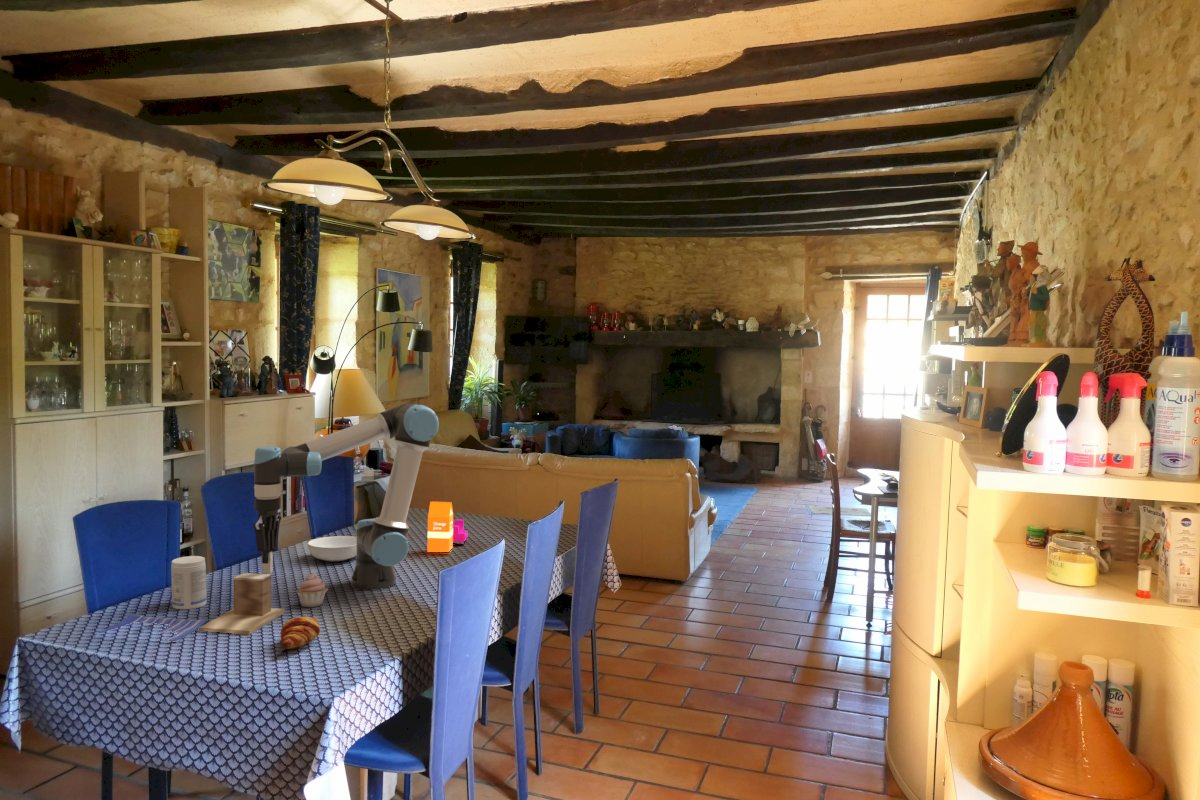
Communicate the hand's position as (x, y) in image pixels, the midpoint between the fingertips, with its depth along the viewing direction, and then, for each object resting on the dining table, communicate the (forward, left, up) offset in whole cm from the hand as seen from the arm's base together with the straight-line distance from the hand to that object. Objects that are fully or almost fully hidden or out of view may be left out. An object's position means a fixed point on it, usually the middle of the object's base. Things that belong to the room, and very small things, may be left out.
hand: (267, 572), depth 251 cm
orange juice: (-30, -81, -11) cm, 87 cm away
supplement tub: (+24, +3, -11) cm, 27 cm away
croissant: (-26, +27, -11) cm, 39 cm away
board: (0, +14, -11) cm, 18 cm away
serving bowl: (+5, -61, -11) cm, 63 cm away
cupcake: (-12, -5, -11) cm, 17 cm away
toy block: (-32, -102, -11) cm, 107 cm away
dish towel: (+20, +26, -12) cm, 35 cm away
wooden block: (0, +9, -10) cm, 13 cm away
